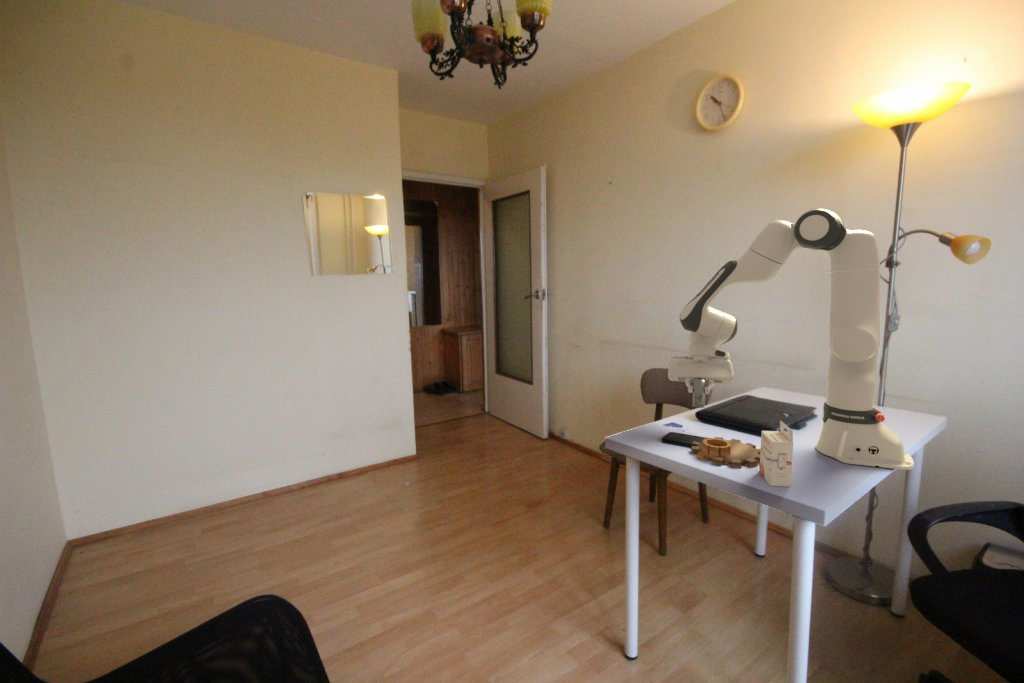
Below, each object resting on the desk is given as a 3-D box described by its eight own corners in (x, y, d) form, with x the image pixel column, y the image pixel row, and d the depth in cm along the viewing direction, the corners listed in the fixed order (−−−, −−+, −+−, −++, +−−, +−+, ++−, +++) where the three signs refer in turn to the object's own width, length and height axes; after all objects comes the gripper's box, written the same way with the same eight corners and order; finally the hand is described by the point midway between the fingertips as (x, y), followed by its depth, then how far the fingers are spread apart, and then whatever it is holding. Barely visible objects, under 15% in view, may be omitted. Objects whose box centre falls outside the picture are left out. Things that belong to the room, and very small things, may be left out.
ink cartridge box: (757, 471, 124) (761, 419, 122) (777, 472, 123) (781, 419, 121) (769, 486, 116) (773, 430, 114) (791, 487, 115) (795, 430, 113)
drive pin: (705, 405, 151) (706, 378, 150) (703, 408, 148) (703, 381, 147) (694, 404, 153) (694, 377, 152) (691, 406, 150) (692, 379, 149)
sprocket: (767, 449, 139) (768, 436, 139) (761, 473, 123) (761, 459, 122) (698, 437, 150) (699, 425, 149) (684, 458, 134) (684, 445, 133)
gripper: (668, 350, 159) (664, 384, 152) (734, 353, 150) (733, 389, 143) (670, 361, 164) (666, 394, 156) (734, 364, 155) (732, 399, 147)
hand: (698, 392), depth 149 cm, fingers closed on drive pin, 4 cm apart
